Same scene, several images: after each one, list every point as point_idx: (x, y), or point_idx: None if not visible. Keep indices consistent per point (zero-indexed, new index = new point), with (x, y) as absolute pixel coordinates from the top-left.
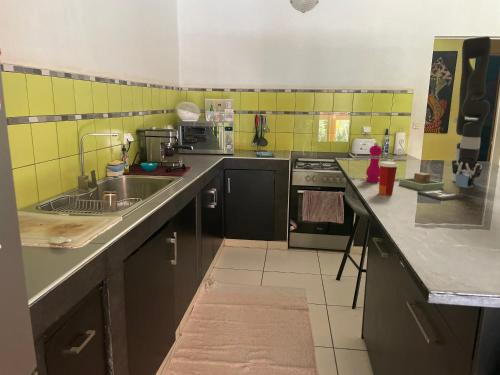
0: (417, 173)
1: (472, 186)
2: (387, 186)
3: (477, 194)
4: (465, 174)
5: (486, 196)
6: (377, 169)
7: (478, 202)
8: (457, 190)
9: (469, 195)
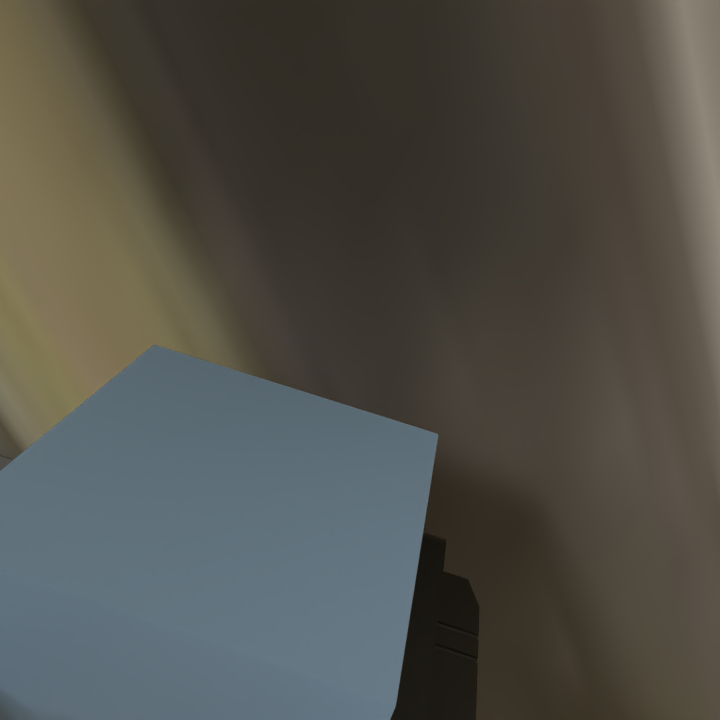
0: None
1: (431, 455)
2: None
3: (478, 32)
4: (40, 655)
5: (706, 70)
6: None
7: (693, 702)
8: (33, 11)
9: (407, 312)
